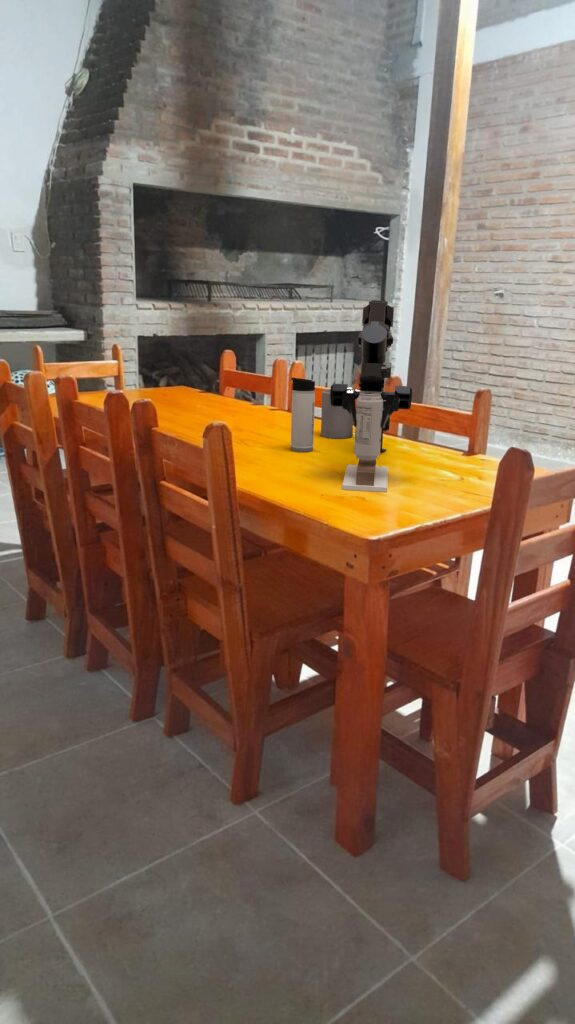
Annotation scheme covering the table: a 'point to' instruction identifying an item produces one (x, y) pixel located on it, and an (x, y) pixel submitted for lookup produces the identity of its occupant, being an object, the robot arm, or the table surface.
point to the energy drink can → (368, 425)
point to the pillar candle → (334, 419)
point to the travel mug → (302, 415)
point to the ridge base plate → (379, 485)
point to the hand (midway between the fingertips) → (368, 426)
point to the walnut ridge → (366, 472)
